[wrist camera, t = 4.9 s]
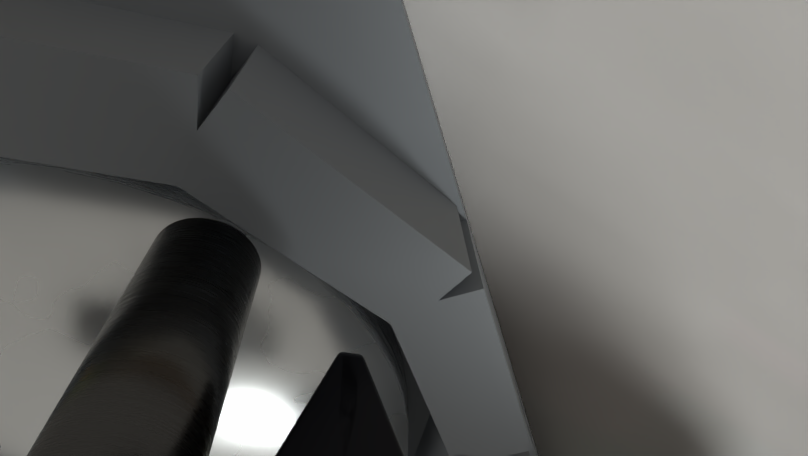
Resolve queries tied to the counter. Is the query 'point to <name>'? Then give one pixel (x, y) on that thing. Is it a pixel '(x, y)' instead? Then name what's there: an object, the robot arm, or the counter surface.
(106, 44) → the grey round platform
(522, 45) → the counter surface
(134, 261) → the dial
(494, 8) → the counter surface
